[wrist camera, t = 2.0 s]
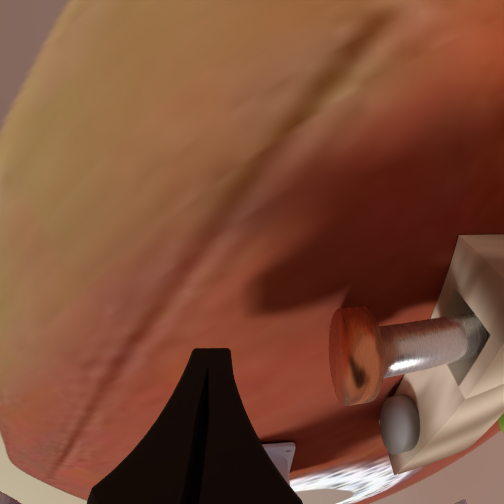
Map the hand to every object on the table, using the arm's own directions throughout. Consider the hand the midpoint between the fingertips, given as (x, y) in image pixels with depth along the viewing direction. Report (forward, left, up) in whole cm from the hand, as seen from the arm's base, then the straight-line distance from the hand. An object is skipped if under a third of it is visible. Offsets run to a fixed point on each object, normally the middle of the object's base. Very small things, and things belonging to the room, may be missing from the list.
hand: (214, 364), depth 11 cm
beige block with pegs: (-4, -16, -3) cm, 17 cm away
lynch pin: (0, -11, -2) cm, 12 cm away
